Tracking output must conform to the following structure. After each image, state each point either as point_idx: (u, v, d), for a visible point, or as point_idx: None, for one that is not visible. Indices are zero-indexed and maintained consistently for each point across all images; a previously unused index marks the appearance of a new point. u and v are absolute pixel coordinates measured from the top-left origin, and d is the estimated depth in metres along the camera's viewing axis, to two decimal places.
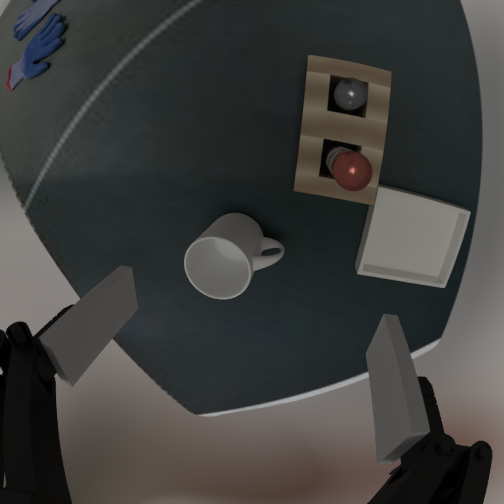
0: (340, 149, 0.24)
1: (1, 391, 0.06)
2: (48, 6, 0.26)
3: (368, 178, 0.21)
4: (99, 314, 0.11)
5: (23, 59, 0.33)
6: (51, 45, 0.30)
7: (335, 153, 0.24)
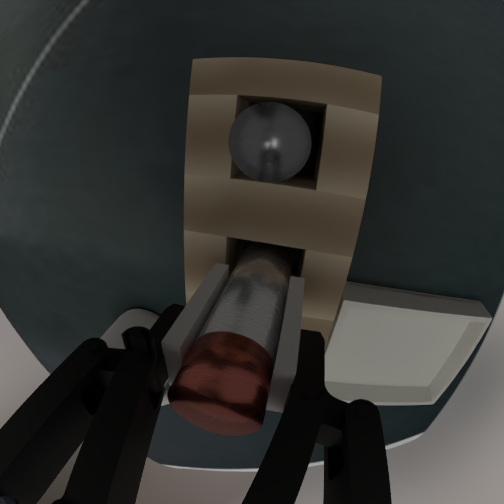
0: (228, 299, 0.12)
1: (82, 408, 0.07)
2: None
3: (253, 425, 0.08)
4: (209, 312, 0.12)
5: None
6: None
7: (209, 318, 0.11)
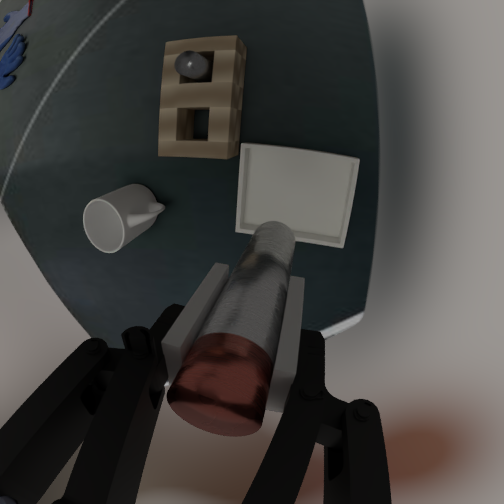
0: (227, 300, 0.12)
1: (82, 408, 0.07)
2: (14, 27, 0.29)
3: (252, 426, 0.08)
4: (209, 312, 0.12)
5: None
6: (15, 62, 0.33)
7: (208, 319, 0.11)
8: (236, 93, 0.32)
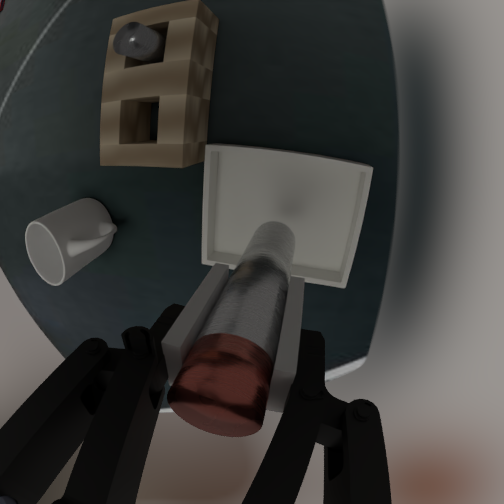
0: (228, 301, 0.12)
1: (82, 408, 0.07)
2: None
3: (253, 427, 0.08)
4: (209, 312, 0.12)
5: None
6: None
7: (208, 320, 0.11)
8: (198, 76, 0.21)
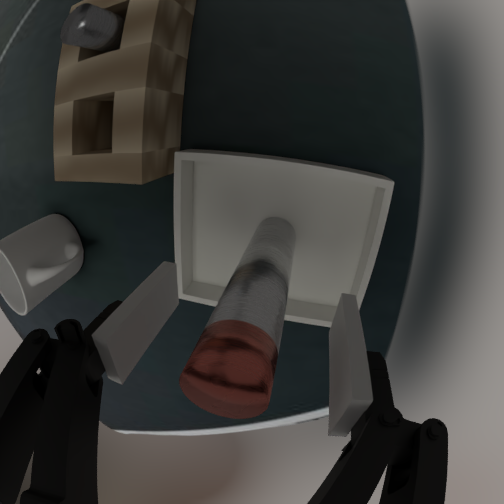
0: (234, 291, 0.13)
1: (35, 394, 0.07)
2: None
3: (259, 407, 0.09)
4: (149, 309, 0.12)
5: None
6: None
7: (216, 309, 0.12)
8: (165, 63, 0.16)
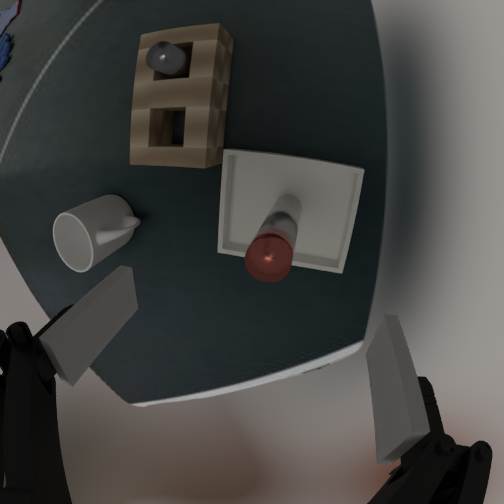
0: (269, 220, 0.23)
1: (1, 391, 0.06)
2: (3, 26, 0.25)
3: (286, 268, 0.20)
4: (99, 314, 0.11)
5: None
6: (0, 62, 0.28)
7: (260, 228, 0.23)
8: (218, 90, 0.26)
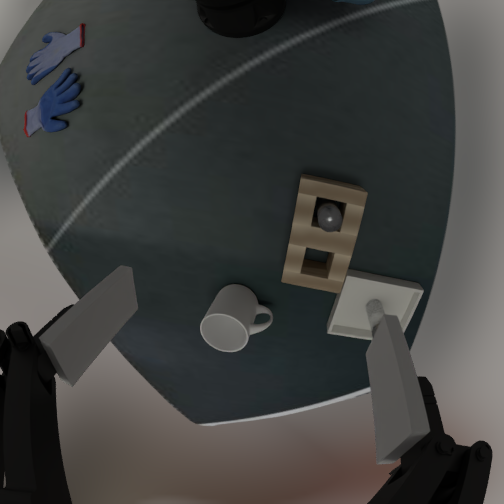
0: None
1: (1, 391, 0.06)
2: (61, 56, 0.39)
3: None
4: (99, 314, 0.11)
5: (39, 108, 0.46)
6: (69, 106, 0.43)
7: None
8: None
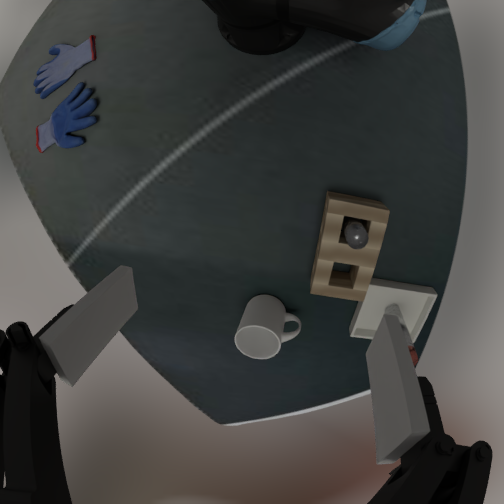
0: None
1: (1, 391, 0.06)
2: (72, 69, 0.42)
3: (415, 364, 0.37)
4: (99, 314, 0.11)
5: (51, 123, 0.49)
6: (85, 122, 0.46)
7: None
8: None
